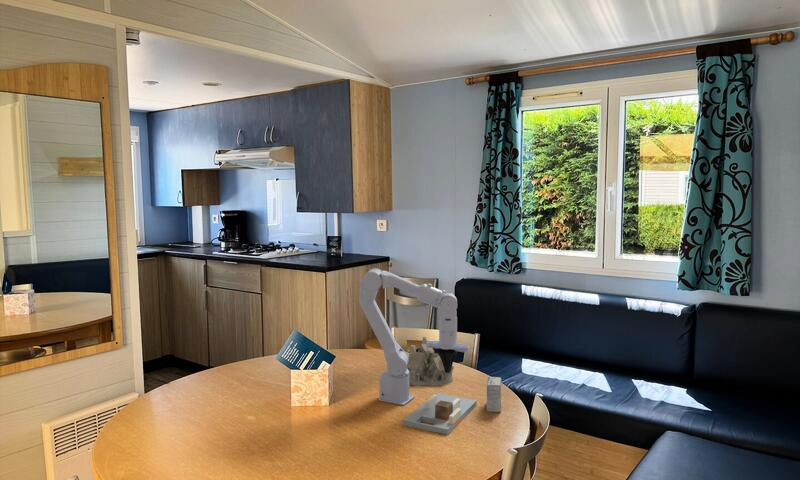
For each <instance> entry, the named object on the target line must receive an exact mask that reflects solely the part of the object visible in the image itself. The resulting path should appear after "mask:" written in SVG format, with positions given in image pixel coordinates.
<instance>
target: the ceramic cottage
mask: <svg viewBox="0 0 800 480" xmlns="http://www.w3.org/2000/svg"><path fill="white" fill-rule="evenodd" d="M427 341H428V340H427V336H422V340H421V344H420V347H419V348H418V350H417V349H416V345H413V344H412V345H410V348H409V353H408V356H409V362H408V364H407V369H408V370H409V385H411V386H412V385H413V386H446V385H448V384H450V383H452V382H454V378H453V371H454V366H453V365H452V368H451V372H449V373H446V372H445V370H444V366H443V363H442V360H441V358H440V356H439V355H438V353H435V350H434V348H426V342H427Z"/></svg>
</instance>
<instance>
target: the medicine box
mask: <svg viewBox="0 0 800 480" xmlns="http://www.w3.org/2000/svg"><path fill="white" fill-rule="evenodd" d="M502 380H503V379H502V377H499V376H498V377H497V376H488V377H487V381H486V382H487V383H486V412H490V413H491V412H492V413H501V412H502V385H503V384H502V382H503V381H502Z"/></svg>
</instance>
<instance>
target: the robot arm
mask: <svg viewBox="0 0 800 480" xmlns="http://www.w3.org/2000/svg"><path fill="white" fill-rule="evenodd" d="M381 287H382V289H386V288H387V289H388V288H392V287H393V288H396V289H397V290H398V289H399V290H401V291H404V292H406V293H410V294H413V295H415V297H416V299H417V300H418V301H419V302H422V303H424V304H425V305H429V306H431V307H434V308H438V309H439V318H438V322H439V323H438V329H439V330H438V334H439V335H438V340H427V342H426V348H433V349H438V352H437V354H438V355H439V356H440V358H441V360H442V363H443V366H444V370H445V372H446V373H449V372H451V368H452V366H453V364H454V360H455V358H456V356H457V354H458V352H459V353H460V352H461V353H465V354H469V353H471V346H470V345H465V344H461V343H458V316H457V314H458V313H457V309H458V305H459V304H458V299H457V297H456V296H455V294H454V293H452V292H451V291H446V290H445V289H443V290H441V289H439V288H437V287H434V286H433V284H432V283H428V284H427V283H423V284H417V283H415V282H413V281H410V280H408V279H405V278H404V277H402V276H399V275H397V274H394V273H393V272H390V271H388V270H382V269H381V268H377V267H374V268H373V267H372V268H371V269H369V270H367V272H366V273H365V274H364V275H363V277H362V278H361V280H360V282H359V292H358V293H359V294H358V303H359V305H360V308H361V309H362V312H363V313H364V315H365V317H366V319H367V321H368V323H369V325H370V327H371V328H372V331H373V333H374V335H375V336H376V338H377V340H378V342H379V344H380V346H381V348H382V350H383V355H384V359H385V361H386V364H387V365H386V367H387V370H385V371H382V373H381V374H380V378H379V398H378V401H380V402H385V403H389V404H395V405H400V406H405V405H406V404H408V403H409V402H410V401H412V400H413V399H414V398H415V396H414V395H412V394H411V395H410V384H409V370H408V369H407V364H408V362H409V353H407V352H406V351H405V350H404V349H403V348H402V347H401V345H400V344H399V343H398V342H397V340H396V338H395V336H394V334H393V332H392V330H391V328H390V327H389V324H388V323H387V321H386V319H385V316H384V315H383V313H382V311H381V309H380V307H379V306H378V304H377V301H376V298H377V297H376V296H377V294H378V291H379V289H380V288H381Z"/></svg>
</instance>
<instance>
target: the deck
mask: <svg viewBox="0 0 800 480" xmlns="http://www.w3.org/2000/svg"><path fill="white" fill-rule="evenodd" d="M440 400H441V401H447V402H452V403H453V413H452V414H451V415H450V416H449V420H448V421H447V420H442V419H437V418H435V405H436V404H437V403H438V402H439V401H440ZM477 401H478V400H476V399H471V398H464V397H460V396H459V397H458V396H453V395H447V394H442V393H438V392H436V393H435V394H433V395H432V396H431V397H429V398H428V399H426V400H425V401H424V403H423V404H421V406H419V407H418V408H417V409H416V410H414V411H413V412H412V413H410V414H409V415H408V416H406V417H405V418H404V419H403V426H404V427H409V428H414V429H419V430H423V431H426V432H427V431H428V432H433V433H438V434H442V435H446V436H447V435H449V434H450V433H452V431H453V430H454V429H455V428H456V427H457V426H458V425H459V424H460V423H461V422H462V421H463V420H464V419H465V418H466V417H467V416H468V414H470V413H471V412H472V411H473V409H475V407H476V406H478V405H477ZM422 422H423V423H422ZM432 424H433V425H432Z"/></svg>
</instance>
